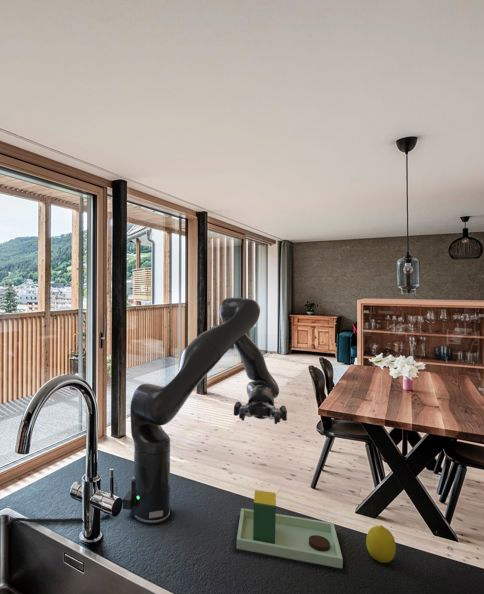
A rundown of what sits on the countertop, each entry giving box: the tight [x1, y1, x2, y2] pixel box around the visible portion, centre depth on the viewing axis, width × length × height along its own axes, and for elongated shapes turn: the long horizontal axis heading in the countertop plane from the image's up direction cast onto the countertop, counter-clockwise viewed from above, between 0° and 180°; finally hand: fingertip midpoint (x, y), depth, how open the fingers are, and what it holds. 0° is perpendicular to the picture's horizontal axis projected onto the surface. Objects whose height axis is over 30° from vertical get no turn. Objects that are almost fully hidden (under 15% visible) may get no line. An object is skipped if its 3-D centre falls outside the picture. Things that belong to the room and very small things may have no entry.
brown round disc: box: [309, 535, 330, 552], centre depth 93 cm, size 4×4×1 cm
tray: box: [236, 507, 344, 569], centre depth 95 cm, size 22×14×3 cm, turn 73°
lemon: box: [365, 525, 397, 564], centre depth 88 cm, size 6×6×8 cm
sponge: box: [253, 489, 277, 544], centre depth 96 cm, size 5×7×9 cm
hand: (259, 418), depth 109 cm, fingers open, 8 cm apart
